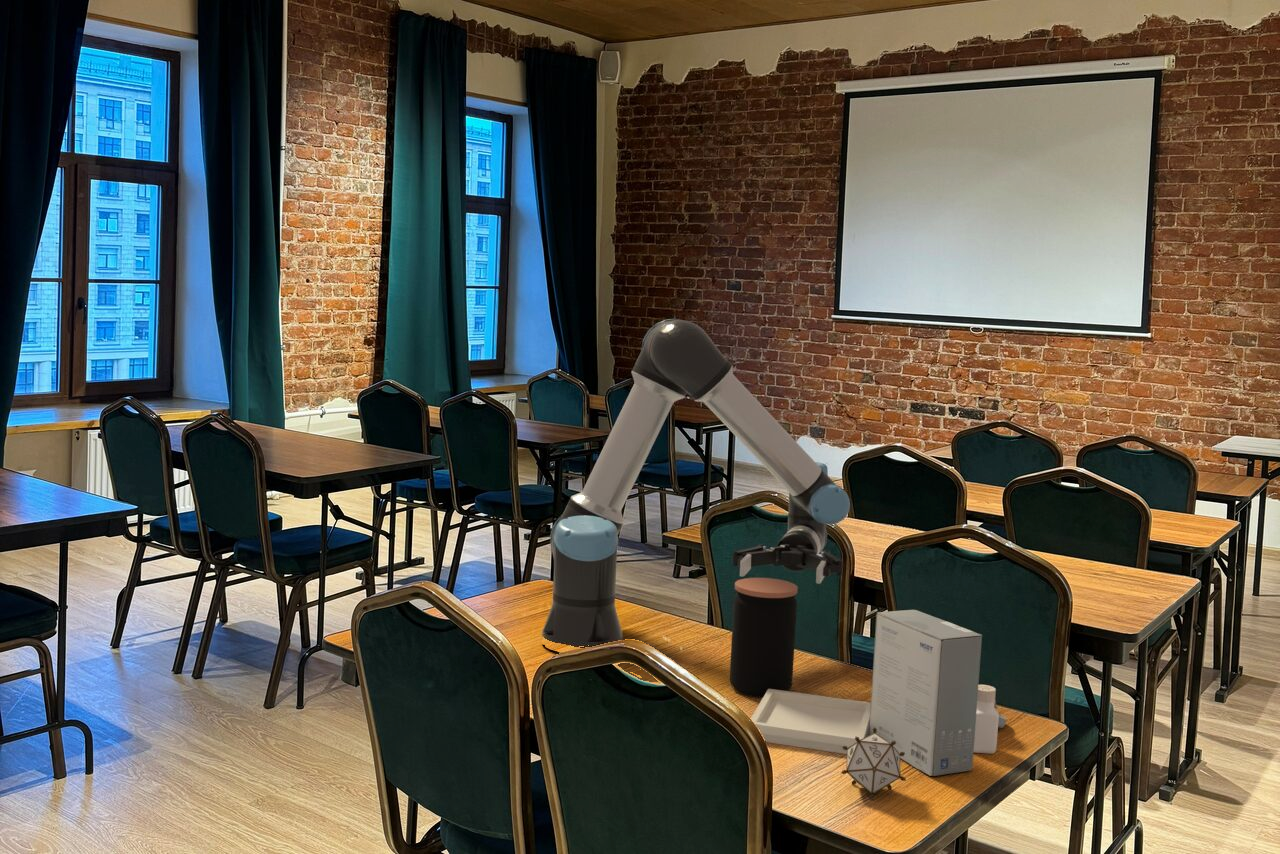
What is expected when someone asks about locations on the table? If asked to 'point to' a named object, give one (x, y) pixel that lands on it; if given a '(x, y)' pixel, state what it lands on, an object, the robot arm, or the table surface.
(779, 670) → the coffee jar
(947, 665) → the hard drive box
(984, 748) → the pepper shaker
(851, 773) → the game die
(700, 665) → the table surface
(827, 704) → the tray
